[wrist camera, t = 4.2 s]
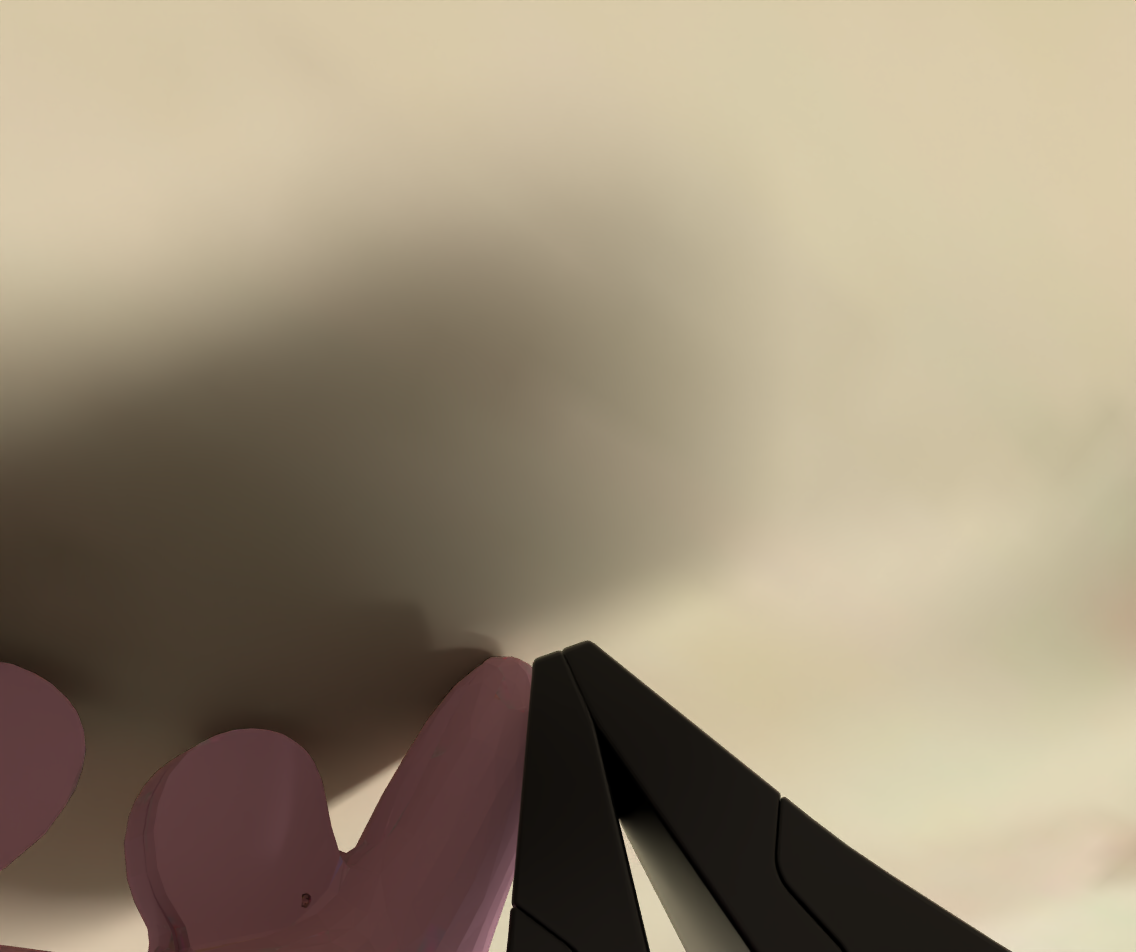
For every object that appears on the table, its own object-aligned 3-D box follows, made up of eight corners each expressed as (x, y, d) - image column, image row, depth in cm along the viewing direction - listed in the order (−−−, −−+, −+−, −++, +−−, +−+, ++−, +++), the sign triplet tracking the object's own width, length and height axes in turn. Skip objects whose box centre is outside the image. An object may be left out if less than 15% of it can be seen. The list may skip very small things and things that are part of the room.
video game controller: (-297, 522, 9) (-1109, 1475, 5) (-293, 297, 6) (-2217, 2075, 2) (414, 728, 14) (340, 1263, 10) (582, 654, 11) (581, 1345, 7)
